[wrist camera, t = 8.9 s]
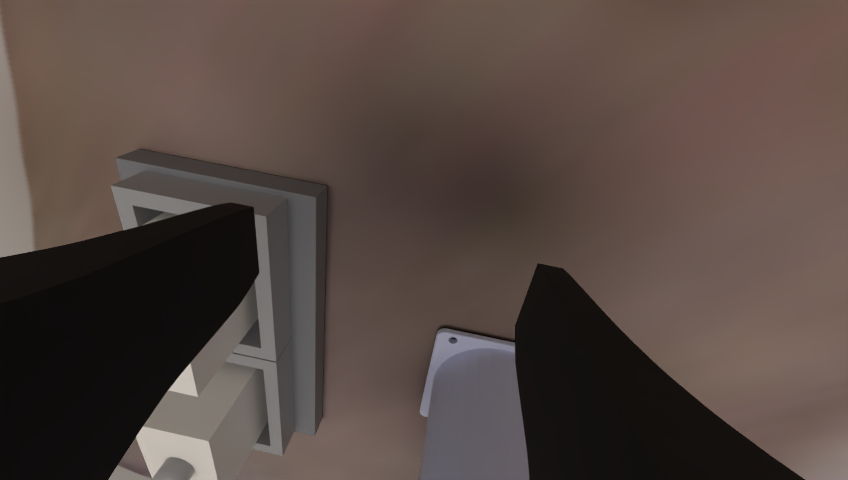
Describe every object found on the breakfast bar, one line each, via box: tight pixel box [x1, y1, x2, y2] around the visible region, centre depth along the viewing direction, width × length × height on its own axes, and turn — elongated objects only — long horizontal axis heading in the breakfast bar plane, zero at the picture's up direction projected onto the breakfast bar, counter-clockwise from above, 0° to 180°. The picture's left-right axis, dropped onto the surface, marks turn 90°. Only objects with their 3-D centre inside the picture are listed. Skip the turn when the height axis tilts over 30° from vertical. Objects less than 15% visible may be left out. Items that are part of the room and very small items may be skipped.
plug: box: [144, 212, 258, 397], centre depth 18 cm, size 4×6×7 cm, turn 171°
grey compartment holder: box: [111, 149, 327, 480], centre depth 21 cm, size 10×19×8 cm, turn 171°
